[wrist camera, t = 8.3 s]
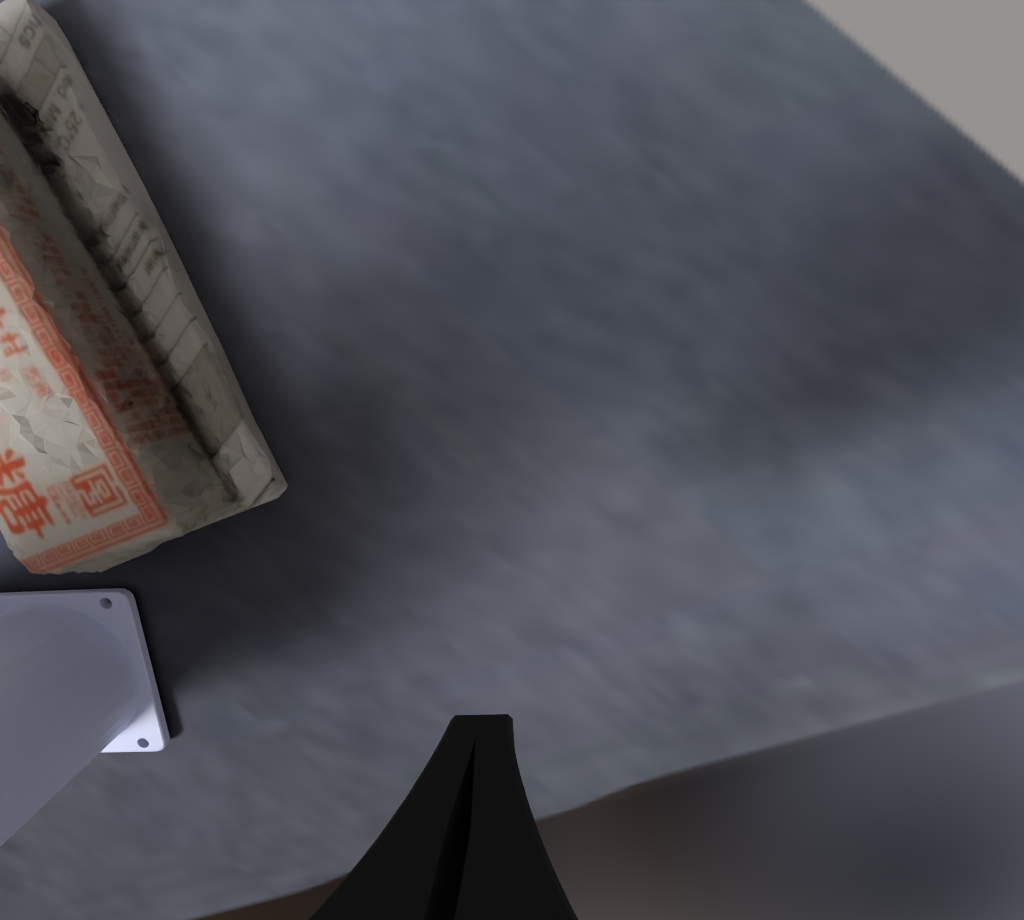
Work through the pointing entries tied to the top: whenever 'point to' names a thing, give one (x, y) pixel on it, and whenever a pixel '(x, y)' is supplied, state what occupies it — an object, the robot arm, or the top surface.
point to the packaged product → (101, 337)
